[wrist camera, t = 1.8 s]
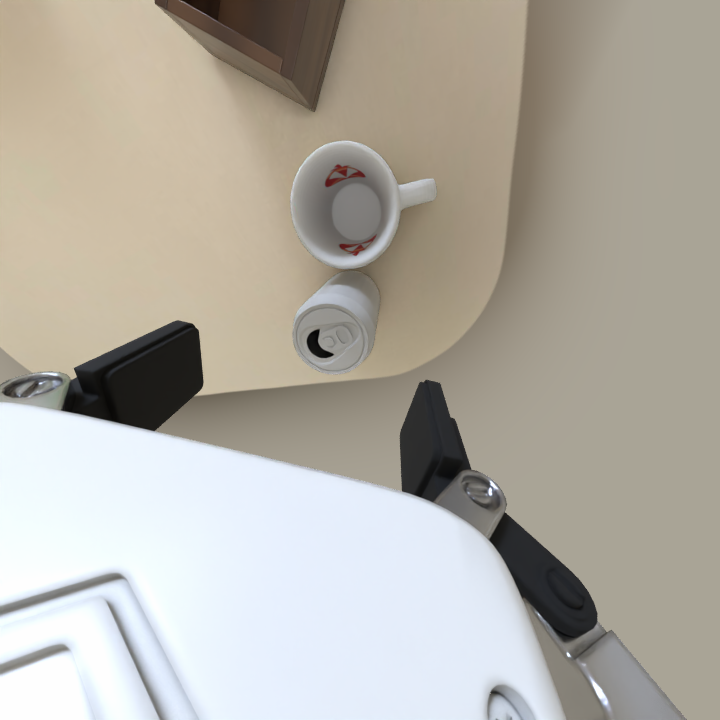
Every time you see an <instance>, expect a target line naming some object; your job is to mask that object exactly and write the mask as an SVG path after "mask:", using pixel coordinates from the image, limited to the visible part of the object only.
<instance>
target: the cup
mask: <svg viewBox="0 0 720 720" xmlns="http://www.w3.org/2000/svg"><path fill="white" fill-rule="evenodd" d="M436 195H437V188H436V183H435V181H434V180H433V179H423V180H419V181H414V182H410V183H406V184H402V185H399V184H397V182H396V179H395V177H394V175H393V173H392V171H391V169H390V167H389V166H388V164H387V163H386V162H385V161H384V159H383V158H382V157H381V156H380V155H379V154H377V153H376V152H375V151H374V150H372V149H371V148H369V147H367V146H365V145H363V144H360V143H357V142H353V141H335V142H331V143H328V144H326V145H323V146H321V147H320V148H318V149H317V150H315V151H314V152H313V153H312V154H310V155H309V156H308V157H307V158H306V160H305V161H304V162H303V164H302V165H301V167H300V168H299V170H298V172H297V174H296V177H295V179H294V182H293V186H292V191H291V200H290V207H291V216H292V221H293V225H294V228H295V231H296V233H297V235H298V237H299V239H300V241H301V242H302V244H303V245H304V247H305V248H306V249H307V250H308V251H309V253H310V254H311V255H313V256H314V257H315V258H316V259H318V260H319V261H321V262H322V263H324V264H326V265H328V266H331V267H334V268H339V269H355V268H359V267H363V266H365V265H367V264H369V263H371V262H373V261H374V260H376V259H377V258H378V257H380V256H381V255H382V254H383V253H384V251H385V250H386V249H387V248H388V246H389V245H390V243H391V242H392V240H393V238H394V236H395V234H396V231H397V228H398V224H399V220H400V212H401V210H403V209H405V208H408V207H411V206H415V205H419V204H422V203H426V202H430V201H433V200H434V199H435V198H436Z"/></svg>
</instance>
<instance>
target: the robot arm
mask: <svg viewBox="0 0 720 720" xmlns="http://www.w3.org/2000/svg"><path fill="white" fill-rule="evenodd" d="M74 370H75V373H76V375H77V378H75V379H73V380H71V379H70V377H69V376H68V375H67V374H64V373H61V372H37V373H31V374H26V375H22V376H18V377H16V378H13V379H10V380H8V381H6V382H4V383H2V384H1V385H0V720H686V718H685V717H684V716H683V715H682V714H681V712H680V711H679V710H678V709H677V708H676V706H675V705H674V704H673V703H672V702H671V701H670V699H669V698H668V697H667V696H666V694H665V693H664V692H663V691H662V690H661V688H659V686H658V685H657V684H656V682H655V681H654V680H653V679H652V678H651V677H650V675H649V674H648V673H647V672H646V670H645V669H644V668H643V667H642V666H641V664H640V663H639V662H638V661H637V660H636V658H635V657H634V656H633V655H632V654H631V652H630V651H629V650H628V649H627V648H626V647H625V645H624V644H623V643H622V642H621V640H620V639H619V638H618V637H617V636H616V634H615V633H614V632H613V631H612V630H610V631H608V632H606V631H605V630H604V628H603V627H602V626H601V625H600V623H599V622H598V621H597V611H596V608H595V605H594V602H593V600H592V598H591V596H590V594H589V592H588V591H587V589H586V588H585V587H584V585H583V584H582V582H581V581H580V580H579V579H578V578H577V577H576V576H575V575H574V574H573V573H572V572H571V571H570V570H569V569H568V568H567V567H566V566H565V565H564V564H562V563H561V562H560V561H559V560H558V559H557V558H556V557H555V556H553V555H552V554H551V553H550V552H549V551H548V550H547V549H546V548H544V547H543V546H542V545H541V544H540V543H539V542H538V541H537V540H536V539H534V538H533V537H532V536H531V535H530V534H529V533H527V532H526V531H525V530H524V529H523V528H522V527H521V526H520V525H519V524H517V523H516V522H515V521H514V520H513V519H512V518H511V517H510V516H509V515H507V514H506V513H505V510H506V506H507V503H506V498H505V496H504V494H503V492H502V490H501V489H500V487H499V486H498V485H497V484H496V483H495V482H494V481H493V480H492V479H491V478H489V477H488V476H486V475H485V474H483V473H480V472H478V471H475V470H471V467H470V464H469V461H468V458H467V455H466V452H465V448H464V445H463V442H462V439H461V436H460V433H459V430H458V427H457V424H456V421H455V419H453V418H451V417H450V414H449V411H448V408H447V404H446V401H445V398H444V395H443V391H442V388H441V384H440V383H438V382H434V381H429V380H425V382H424V383H423V382H420V383H419V385H418V388H417V390H416V393H415V395H414V398H413V401H412V403H411V406H410V408H409V411H408V413H407V416H406V419H405V422H404V424H403V426H402V429H401V432H400V453H401V477H402V491H398V490H395V489H391V488H388V487H384V486H381V485H376V484H373V483H369V482H364V481H361V480H356V479H353V478H349V477H345V476H341V475H337V474H333V473H329V472H325V471H320V470H316V469H312V468H308V467H304V466H300V465H295V464H291V463H287V462H283V461H279V460H275V459H270V458H266V457H262V456H258V455H254V454H250V453H245V452H241V451H237V450H232V449H228V448H224V447H220V446H216V445H211V444H207V443H203V442H198V441H194V440H190V439H186V438H181V437H177V436H173V435H168V434H164V433H160V432H155V430H156V429H157V428H159V427H160V426H161V425H162V424H163V423H164V422H165V421H166V420H167V419H169V418H170V417H171V416H172V415H173V414H174V413H175V412H176V411H178V410H179V409H180V408H181V407H182V406H183V405H184V404H185V403H187V402H188V401H189V400H190V399H191V398H192V397H193V396H194V395H196V394H197V393H198V392H199V391H200V390H201V389H202V387H203V372H202V361H201V350H200V339H199V331H198V329H197V328H195V326H194V325H193V324H191V323H187V322H183V321H178V320H177V321H174V322H172V323H170V324H168V325H166V326H163V327H161V328H159V329H157V330H155V331H153V332H150V333H148V334H146V335H144V336H142V337H140V338H138V339H135V340H133V341H131V342H129V343H127V344H125V345H123V346H120V347H118V348H116V349H114V350H112V351H110V352H107V353H105V354H103V355H101V356H99V357H97V358H95V359H92V360H90V361H88V362H86V363H84V364H82V365H80V366H77V367H75V368H74ZM490 693H491V694H490Z"/></svg>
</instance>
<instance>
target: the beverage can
mask: <svg viewBox="0 0 720 720" xmlns="http://www.w3.org/2000/svg"><path fill="white" fill-rule="evenodd" d="M379 308H380V294H379V291H378V288H377V286H376V284H375V283H374V282H373V281H372V279H370V278H369V277H368V276H367V275H365V274H363V273H361V272H358V271H343V272H340V273H337V274H336V275H334V276H333V277H332V278H331V279H329V280H328V281H327V282H326V283H325V284H324V285H323V286H322V287H321V288H320V289H319V290H318V291H317V292H316V293H315V294H313V295H312V296H311V297H310V298H309V299H308V300H307V301H306V302H305V303H304V304H303V305H302V306H301V307H300V309H299V310H298V312H297V314H296V316H295V319H294V324H293V343H294V347H295V349H296V351H297V353H298V355H299V356H300V358H301V359H302V360H303V361H304V362H305V363H306V364H307V365H308V366H310V367H311V368H313V369H315V370H317V371H319V372H322V373H326V374H343V373H346V372H349V371H351V370H353V369H354V368H356V367H357V366H358V365H359V364H360V363H362V362H363V361H364V360H365V359H366V358H367V357H368V355H369V354H370V352H371V350H372V348H373V345H374V340H375V333H376V327H377V320H378V314H379Z"/></svg>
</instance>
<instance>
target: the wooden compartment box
mask: <svg viewBox="0 0 720 720" xmlns="http://www.w3.org/2000/svg"><path fill="white" fill-rule="evenodd" d="M344 2H345V0H155V4H156V5H157V6H158V7H159V8H160V9H162V10H163V11H164V12H165V13H166V14H167V15H168V16H169V17H170V18H172V19H173V20H174V21H175V22H176V23H177V24H178V25H179V26H180V27H182V28H183V29H184V30H185V31H186V32H187V33H188V34H189V35H190V36H192V37H193V38H194V39H195V40H196V41H197V42H198V43H199V44H201V45H202V46H203V47H204V48H205V49H206V50H207V51H208V52H209V53H210V54H212V55H214V56H215V57H217V58H219V59H221V60H223V61H224V62H226V63H228V64H230V65H231V66H233V67H235V68H237V69H239V70H240V71H242V72H244V73H246V74H248V75H249V76H251V77H253V78H255V79H256V80H258V81H260V82H262V83H264V84H265V85H267V86H269V87H271V88H273V89H274V90H276V91H278V92H280V93H281V94H283V95H285V96H287V97H289V98H290V99H292V100H294V101H296V102H298V103H299V104H301V105H303V106H305V107H306V108H308V109H310V110H312V111H314V112H315V108H316V105H317V101H318V97H319V94H320V90H321V86H322V83H323V79H324V75H325V72H326V68H327V64H328V61H329V57H330V53H331V50H332V46H333V42H334V39H335V35H336V31H337V28H338V24H339V20H340V17H341V13H342V9H343V6H344Z"/></svg>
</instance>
